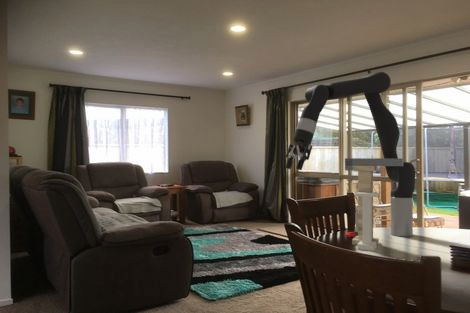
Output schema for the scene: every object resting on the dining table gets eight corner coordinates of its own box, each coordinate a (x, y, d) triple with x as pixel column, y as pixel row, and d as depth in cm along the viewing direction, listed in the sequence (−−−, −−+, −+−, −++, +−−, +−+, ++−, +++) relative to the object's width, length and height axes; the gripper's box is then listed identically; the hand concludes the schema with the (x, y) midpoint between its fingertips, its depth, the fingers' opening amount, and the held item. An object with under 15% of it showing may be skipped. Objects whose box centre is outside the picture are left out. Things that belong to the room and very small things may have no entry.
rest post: (358, 245, 149) (358, 192, 149) (379, 248, 145) (379, 193, 145) (354, 248, 144) (354, 193, 144) (376, 251, 140) (376, 194, 140)
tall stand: (356, 240, 158) (356, 165, 158) (378, 242, 154) (378, 165, 154) (352, 244, 151) (352, 165, 151) (375, 247, 147) (375, 166, 147)
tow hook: (344, 234, 173) (347, 237, 164) (344, 206, 174) (347, 208, 165) (363, 234, 172) (367, 238, 163) (363, 206, 172) (366, 208, 163)
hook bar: (346, 170, 158) (346, 158, 158) (403, 171, 147) (403, 158, 147) (344, 170, 155) (344, 158, 155) (402, 171, 144) (402, 158, 144)
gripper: (322, 134, 146) (310, 173, 144) (303, 135, 159) (291, 171, 157) (307, 127, 143) (294, 166, 141) (288, 129, 156) (276, 165, 155)
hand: (293, 169), depth 149 cm, fingers open, 8 cm apart
